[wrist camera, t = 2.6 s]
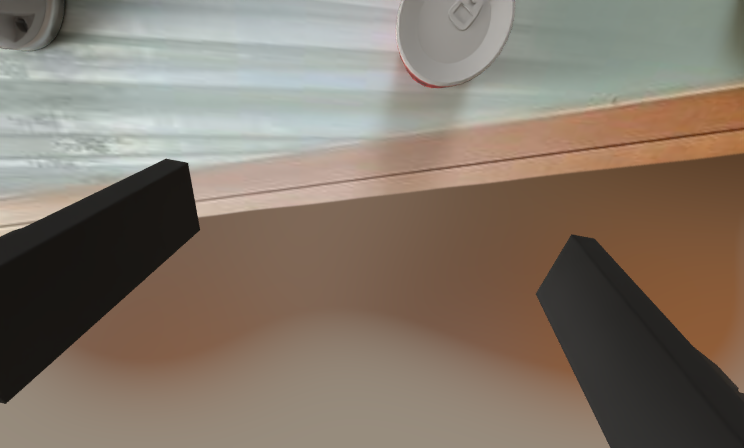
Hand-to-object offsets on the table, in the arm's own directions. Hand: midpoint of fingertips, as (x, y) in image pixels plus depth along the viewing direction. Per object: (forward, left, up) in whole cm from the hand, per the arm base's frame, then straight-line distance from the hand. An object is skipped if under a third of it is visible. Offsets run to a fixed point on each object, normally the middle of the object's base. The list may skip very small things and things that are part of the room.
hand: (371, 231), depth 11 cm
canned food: (+2, +9, -26) cm, 28 cm away
